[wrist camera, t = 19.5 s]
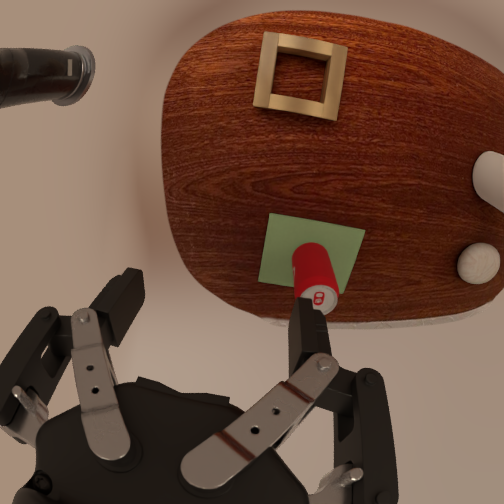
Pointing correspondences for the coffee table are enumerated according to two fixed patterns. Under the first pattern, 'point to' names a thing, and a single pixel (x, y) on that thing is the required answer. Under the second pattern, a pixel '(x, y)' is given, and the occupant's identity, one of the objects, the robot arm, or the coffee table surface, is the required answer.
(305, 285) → the beverage can
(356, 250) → the pad
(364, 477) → the robot arm
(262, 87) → the stand
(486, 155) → the wine bottle
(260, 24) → the coffee table surface
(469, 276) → the decorative stone
